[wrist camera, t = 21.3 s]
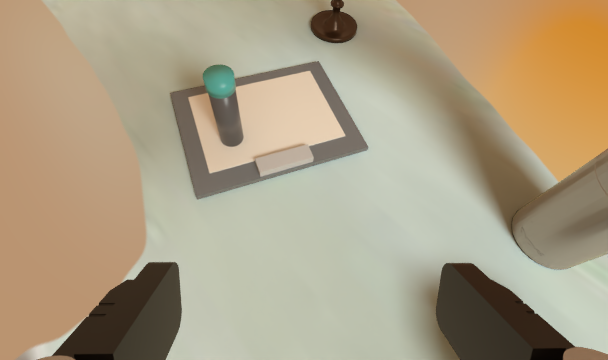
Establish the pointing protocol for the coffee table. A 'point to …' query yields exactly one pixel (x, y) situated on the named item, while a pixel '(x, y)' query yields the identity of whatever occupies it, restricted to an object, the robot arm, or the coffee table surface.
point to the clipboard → (266, 129)
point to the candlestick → (334, 24)
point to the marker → (224, 103)
